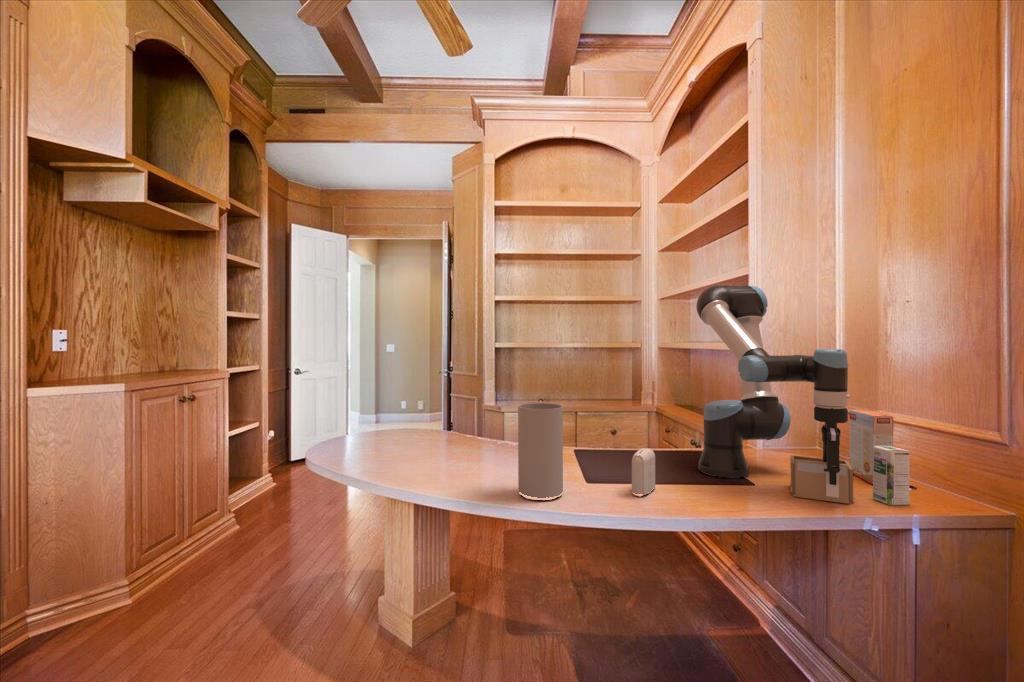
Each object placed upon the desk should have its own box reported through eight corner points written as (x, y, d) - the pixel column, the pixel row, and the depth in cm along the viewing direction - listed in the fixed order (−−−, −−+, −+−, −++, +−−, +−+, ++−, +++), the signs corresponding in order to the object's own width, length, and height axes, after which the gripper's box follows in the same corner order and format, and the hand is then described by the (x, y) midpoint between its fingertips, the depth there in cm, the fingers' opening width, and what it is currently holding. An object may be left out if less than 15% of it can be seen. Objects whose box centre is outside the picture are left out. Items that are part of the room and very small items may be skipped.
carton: (791, 495, 132) (791, 463, 132) (790, 485, 142) (790, 455, 142) (853, 503, 126) (853, 469, 126) (847, 492, 135) (847, 460, 135)
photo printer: (642, 486, 141) (642, 444, 141) (657, 489, 139) (657, 446, 139) (629, 495, 133) (629, 451, 133) (644, 498, 130) (644, 453, 130)
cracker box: (895, 486, 140) (894, 415, 140) (872, 485, 141) (871, 415, 141) (869, 473, 154) (869, 409, 154) (848, 472, 155) (848, 408, 155)
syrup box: (871, 498, 129) (871, 445, 129) (891, 498, 130) (891, 445, 130) (890, 506, 124) (889, 450, 124) (910, 505, 124) (910, 449, 124)
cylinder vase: (556, 504, 126) (556, 410, 126) (512, 499, 130) (511, 407, 130) (567, 490, 137) (567, 404, 137) (526, 486, 142) (526, 402, 142)
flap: (795, 496, 130) (795, 460, 130) (795, 495, 132) (795, 459, 132) (848, 503, 125) (848, 465, 125) (847, 502, 126) (847, 464, 126)
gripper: (853, 412, 117) (853, 505, 117) (842, 403, 134) (843, 484, 134) (817, 410, 120) (817, 501, 120) (811, 401, 138) (811, 480, 138)
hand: (830, 492), depth 127 cm, fingers open, 7 cm apart
